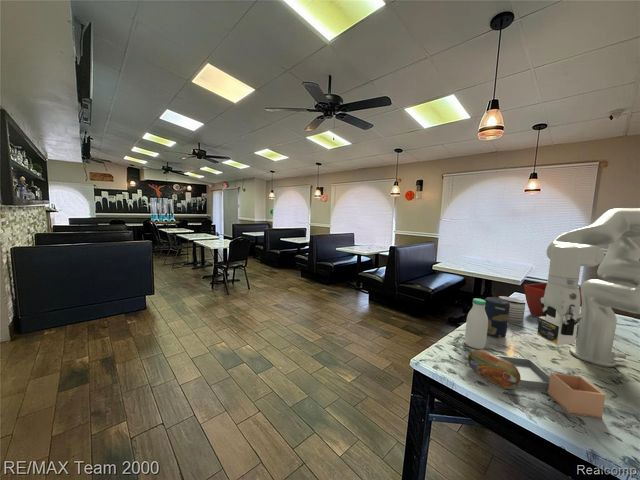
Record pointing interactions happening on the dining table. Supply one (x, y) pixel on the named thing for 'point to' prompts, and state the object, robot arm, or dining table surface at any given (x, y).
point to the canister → (497, 316)
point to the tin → (494, 369)
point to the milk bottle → (477, 325)
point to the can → (515, 310)
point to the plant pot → (536, 298)
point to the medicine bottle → (554, 328)
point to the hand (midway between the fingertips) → (556, 328)
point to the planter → (576, 395)
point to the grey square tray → (529, 373)
